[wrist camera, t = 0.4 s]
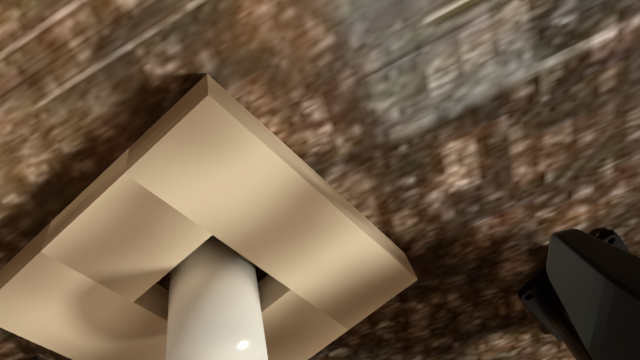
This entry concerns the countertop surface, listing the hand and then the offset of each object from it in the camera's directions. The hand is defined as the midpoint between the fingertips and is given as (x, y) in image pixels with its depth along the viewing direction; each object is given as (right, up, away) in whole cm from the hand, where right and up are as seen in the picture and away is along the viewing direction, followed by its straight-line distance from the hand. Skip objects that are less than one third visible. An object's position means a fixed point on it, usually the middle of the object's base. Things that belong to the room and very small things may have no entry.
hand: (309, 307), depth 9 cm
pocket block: (-5, -2, +17) cm, 17 cm away
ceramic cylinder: (-5, -2, +17) cm, 17 cm away
